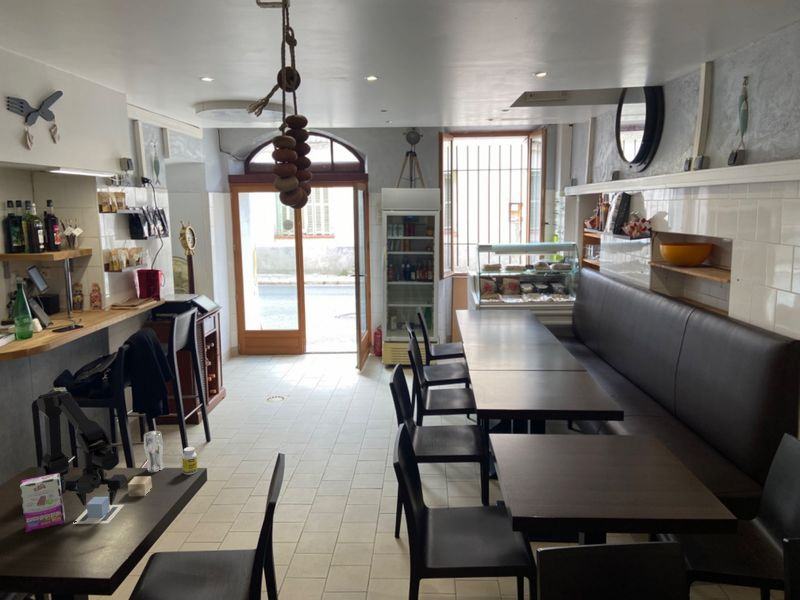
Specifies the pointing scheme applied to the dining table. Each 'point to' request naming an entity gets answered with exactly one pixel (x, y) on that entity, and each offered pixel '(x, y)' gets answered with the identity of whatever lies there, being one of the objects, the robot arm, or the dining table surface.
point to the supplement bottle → (189, 461)
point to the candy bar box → (42, 502)
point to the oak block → (139, 486)
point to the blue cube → (98, 507)
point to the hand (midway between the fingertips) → (98, 505)
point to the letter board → (106, 519)
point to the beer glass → (154, 450)
